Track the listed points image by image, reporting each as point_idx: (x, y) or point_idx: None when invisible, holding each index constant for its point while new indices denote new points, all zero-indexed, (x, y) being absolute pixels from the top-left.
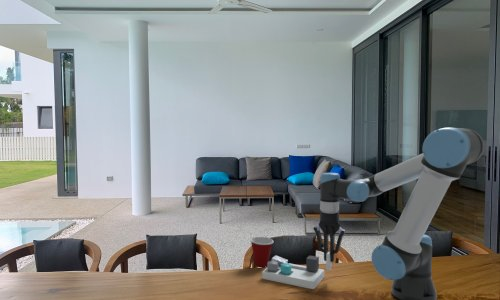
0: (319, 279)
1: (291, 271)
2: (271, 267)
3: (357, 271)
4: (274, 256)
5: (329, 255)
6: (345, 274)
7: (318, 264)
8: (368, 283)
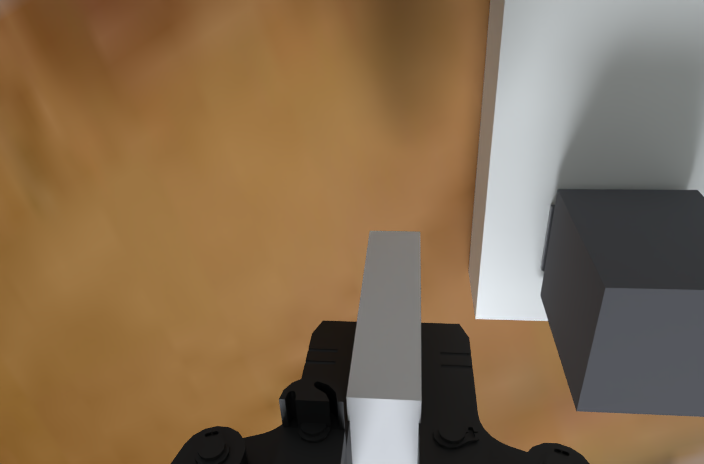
0: (485, 123)
1: None
2: None
3: None
4: None
5: (357, 380)
6: None
7: (554, 324)
8: (76, 295)
